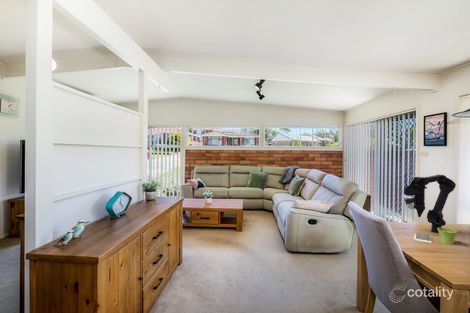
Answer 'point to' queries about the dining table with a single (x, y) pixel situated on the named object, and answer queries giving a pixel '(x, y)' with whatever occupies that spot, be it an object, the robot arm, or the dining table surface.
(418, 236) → the slate tile
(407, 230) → the dining table surface
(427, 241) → the white rectangular board
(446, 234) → the plant pot
